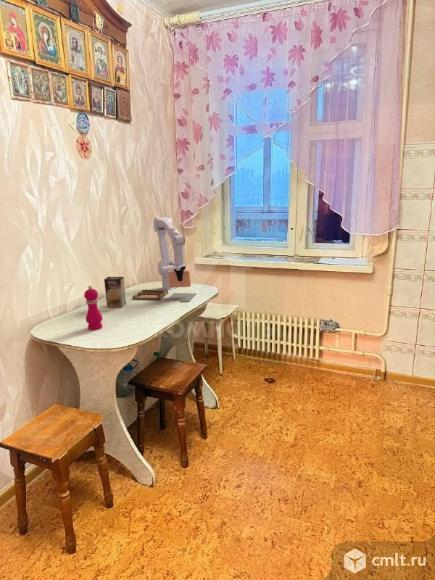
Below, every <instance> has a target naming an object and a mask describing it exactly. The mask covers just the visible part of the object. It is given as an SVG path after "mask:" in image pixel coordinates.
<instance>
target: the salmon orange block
mask: <svg viewBox="0 0 435 580" xmlns="http://www.w3.org/2000/svg"><path fill="white" fill-rule="evenodd" d="M168 279H169V288H173V287H176V288H189V287H191V286H192V279H191V270H190V269H185V270H184V272H183V279H182V281H178V279H177V275H176V273H175V271H168Z"/></svg>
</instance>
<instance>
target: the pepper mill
mask: <svg viewBox="0 0 435 580" xmlns="http://www.w3.org/2000/svg"><path fill="white" fill-rule="evenodd" d="M84 291H85V292H84V293H83V297H84V299H85V301H86V302H85V303H86V304H87V307H88V308H87V313H86V315H85V322H86V323H87V328H88V330H90V331H98V330H100V329H102V328H103V323H102V321H103V316H102V313H101V312H100V310H99V308H98V302H99V301H98V297H99V291H98V290H96V289H94V288H93V286H92V285H89V286H88V289H86V290H84Z"/></svg>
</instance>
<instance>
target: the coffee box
mask: <svg viewBox="0 0 435 580" xmlns="http://www.w3.org/2000/svg"><path fill="white" fill-rule="evenodd" d="M103 282H104V291H105V300H106V308H107V309H112V308H113V309H114V308H122V309H123V308H124V307H125V306H126V305H127V299H126V297H127V295H126V285H125V277H124V276H107V277H106V278H104V281H103Z"/></svg>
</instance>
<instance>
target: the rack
mask: <svg viewBox="0 0 435 580" xmlns="http://www.w3.org/2000/svg"><path fill="white" fill-rule="evenodd" d="M168 294H169V290H160V289H142V290H140V291H139V292H137V293H135V294H134V295H133V296H132V300H133V301H161V300H162V299H164V298H165V297H166V296H167V295H168ZM141 295H153V296H158V298H139V297H140V296H141Z"/></svg>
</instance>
